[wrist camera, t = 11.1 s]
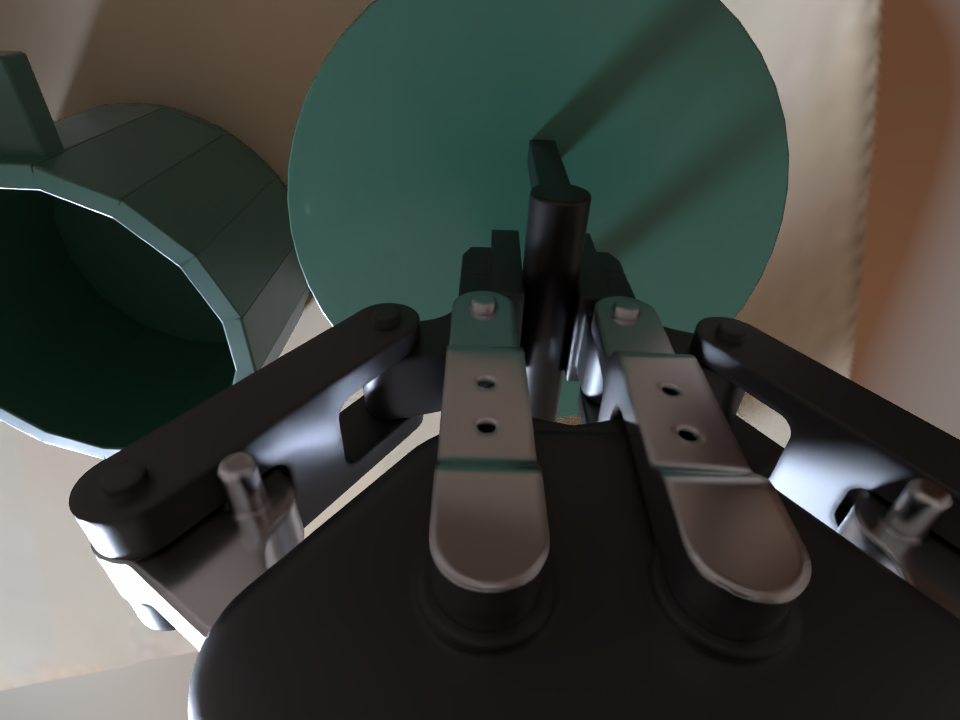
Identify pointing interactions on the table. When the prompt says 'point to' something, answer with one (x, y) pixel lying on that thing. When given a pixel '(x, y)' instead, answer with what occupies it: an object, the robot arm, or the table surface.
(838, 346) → the table surface
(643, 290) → the pot lid
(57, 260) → the pot
